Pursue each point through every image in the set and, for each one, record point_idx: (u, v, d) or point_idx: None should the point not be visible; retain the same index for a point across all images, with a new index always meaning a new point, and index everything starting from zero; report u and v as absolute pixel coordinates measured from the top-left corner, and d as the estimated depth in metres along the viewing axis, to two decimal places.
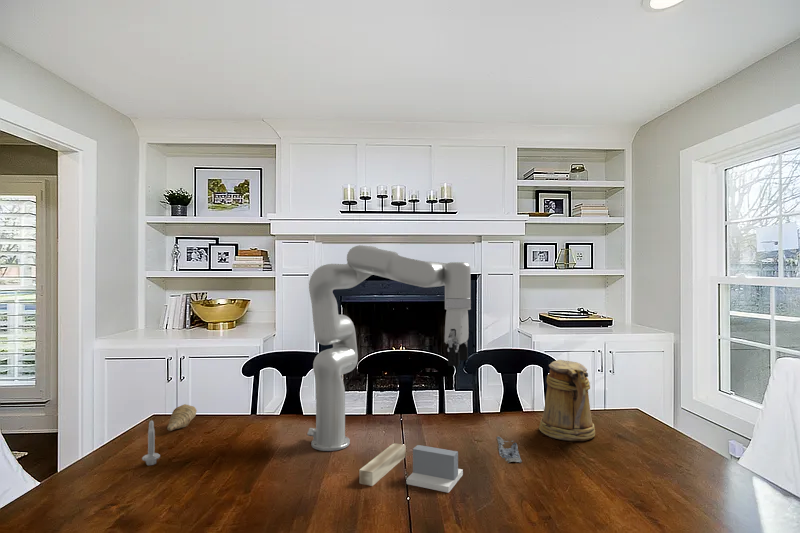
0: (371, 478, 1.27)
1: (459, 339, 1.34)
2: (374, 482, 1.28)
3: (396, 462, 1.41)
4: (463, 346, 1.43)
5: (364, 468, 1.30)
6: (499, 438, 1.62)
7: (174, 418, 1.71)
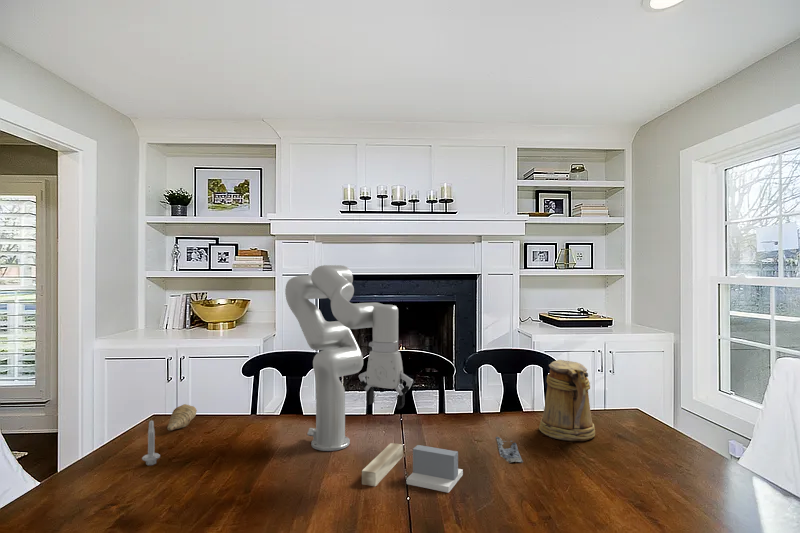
0: (374, 478, 1.27)
1: None
2: (377, 482, 1.28)
3: (395, 462, 1.42)
4: (371, 389, 1.41)
5: (366, 468, 1.30)
6: (498, 438, 1.62)
7: (174, 418, 1.71)
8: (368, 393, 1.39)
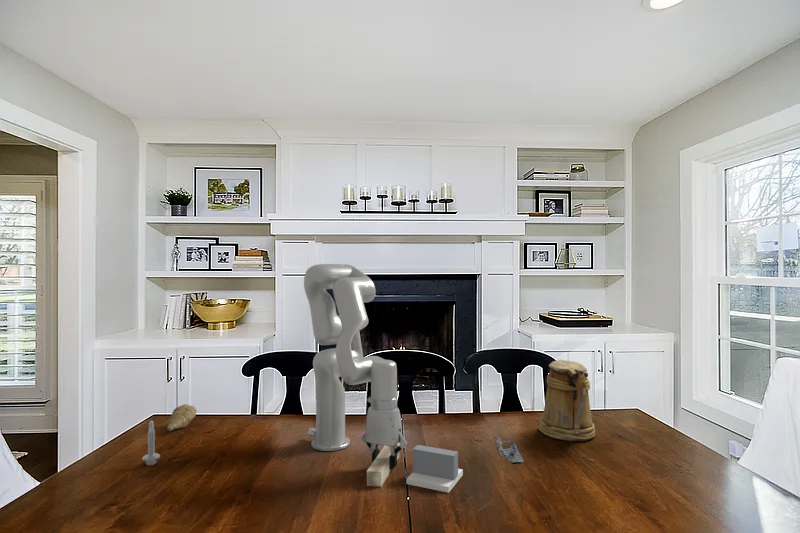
0: (379, 478, 1.27)
1: None
2: (382, 482, 1.28)
3: None
4: (377, 450, 1.39)
5: (370, 468, 1.29)
6: (496, 438, 1.62)
7: (174, 418, 1.71)
8: (374, 454, 1.38)
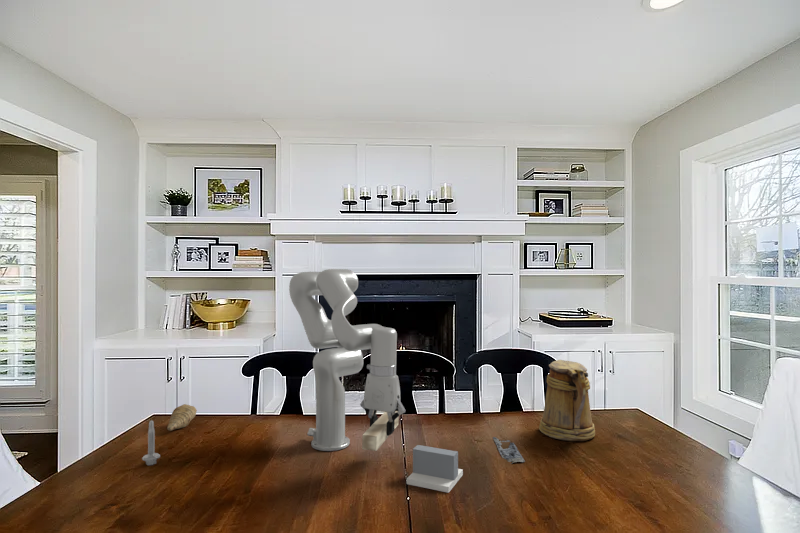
0: (375, 442, 1.28)
1: None
2: (377, 446, 1.29)
3: None
4: (375, 416, 1.40)
5: (366, 432, 1.30)
6: (495, 438, 1.62)
7: (174, 418, 1.71)
8: (372, 420, 1.38)
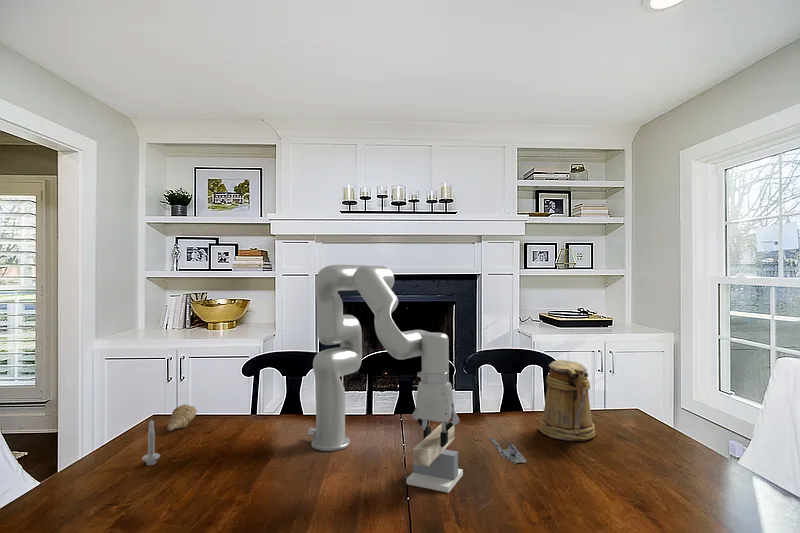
0: (426, 457, 1.20)
1: None
2: (429, 461, 1.21)
3: None
4: (429, 427, 1.33)
5: (418, 446, 1.23)
6: (492, 439, 1.61)
7: (174, 418, 1.71)
8: (426, 432, 1.31)
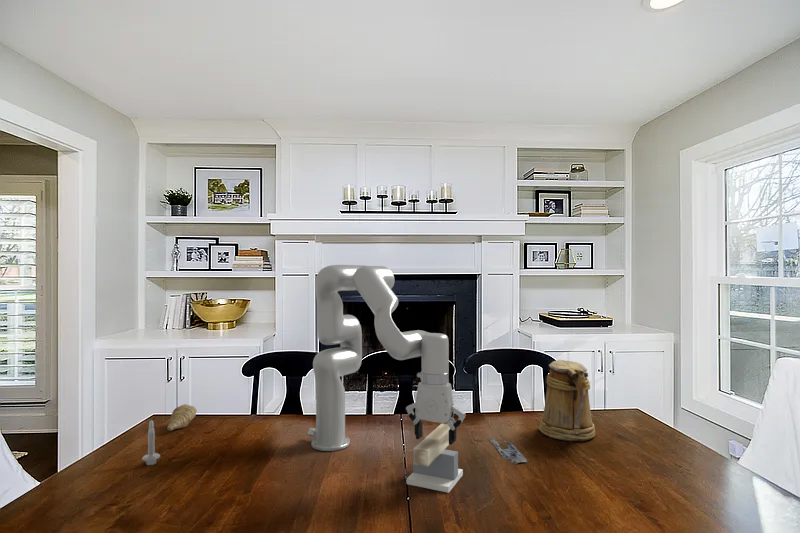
0: (426, 457, 1.20)
1: None
2: (429, 461, 1.21)
3: (447, 442, 1.34)
4: (420, 422, 1.34)
5: (418, 446, 1.23)
6: (492, 439, 1.61)
7: (174, 418, 1.71)
8: (417, 427, 1.32)
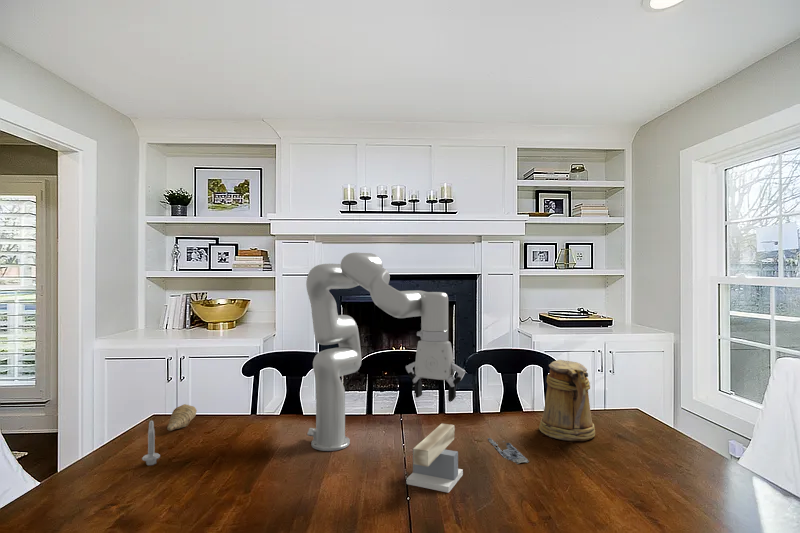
0: (426, 457, 1.20)
1: None
2: (429, 461, 1.21)
3: (447, 442, 1.34)
4: (420, 381, 1.34)
5: (418, 446, 1.23)
6: (490, 440, 1.61)
7: (174, 418, 1.71)
8: (417, 385, 1.32)
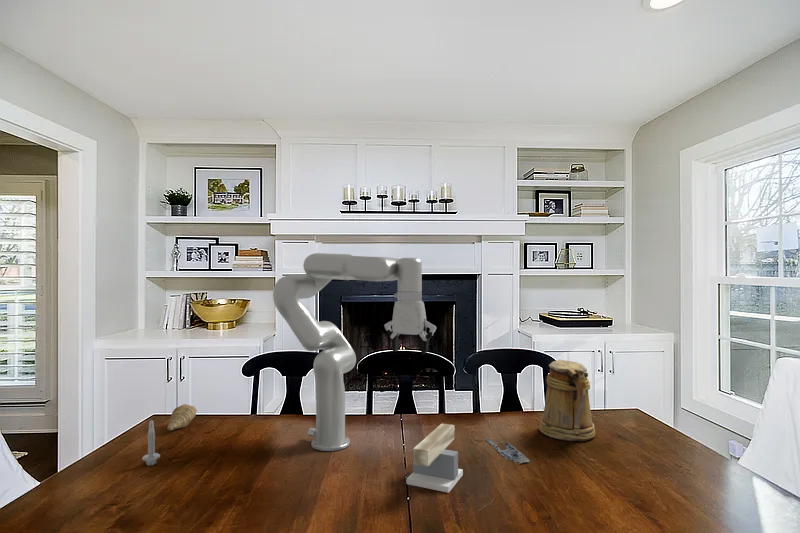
0: (426, 457, 1.20)
1: None
2: (429, 461, 1.21)
3: (447, 442, 1.34)
4: (397, 337, 1.50)
5: (418, 446, 1.23)
6: (489, 440, 1.60)
7: (174, 418, 1.71)
8: (394, 340, 1.49)
